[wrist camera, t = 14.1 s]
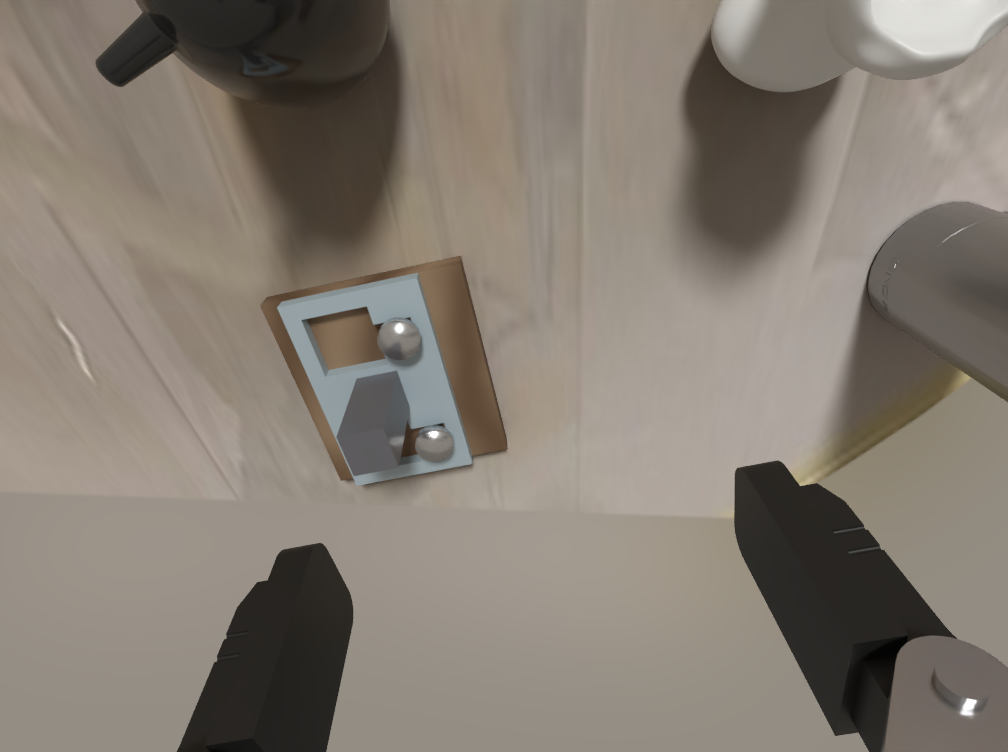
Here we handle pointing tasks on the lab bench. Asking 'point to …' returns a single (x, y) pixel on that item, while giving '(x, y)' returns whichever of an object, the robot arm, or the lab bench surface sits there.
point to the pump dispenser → (257, 46)
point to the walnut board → (364, 348)
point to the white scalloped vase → (849, 38)
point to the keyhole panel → (411, 369)
